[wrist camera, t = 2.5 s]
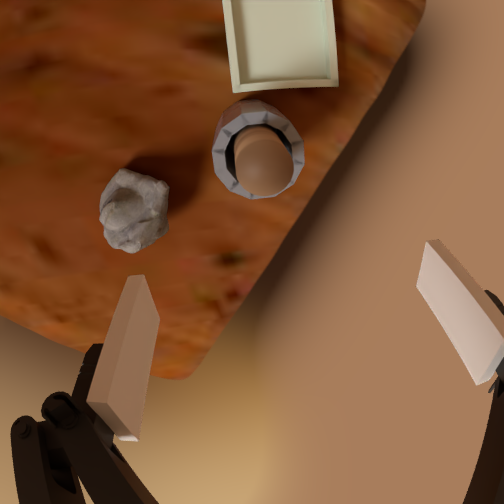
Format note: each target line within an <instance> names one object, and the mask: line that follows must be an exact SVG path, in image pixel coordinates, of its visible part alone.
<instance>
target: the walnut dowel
mask: <svg viewBox="0 0 504 504" xmlns="http://www.w3.org/2000/svg"><path fill="white" fill-rule="evenodd" d="M233 140H234V154H235V167H236V176H237V179H238V181H239V183H240V184H241V186H242V187H243V188H244V189H245V190H246V191H248V192H249V193H252V194H254V195H258V196H270V195H274V194H277V193H279V192H280V191H282V190H283V189H284V188H285V187H286V186H287V185H288V184H289V183H290V181H291V179H292V176H293V172H294V163H293V160H292V157H291V155H290V154H289V152H288V151H287V149H286V148H285V146H284V145H283V143H282V142H281V140H280V139H279V137H278V136H277V134H276V133H275V131H274V130H273V128H272V127H271V126H270V125H268V124H266V123H263V124H253V125H246V126H245V127H243V128H242V129H240V130H239V131H238V132H236V133H235V134H233Z"/></svg>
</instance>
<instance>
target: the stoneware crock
mask: <svg viewBox="0 0 504 504" xmlns="http://www.w3.org/2000/svg"><path fill="white" fill-rule="evenodd" d="M263 123H266V124H268V125H270V126H271V127H272V128H273V130H274V131H275V133H276V134H277V136H278V137H279V139H280V140H281V142H282V143H283V145H284V146H285V148H286V149H287V151H288V152H289V154H290V155H291V157H292V160H293V163H294V172H293V176H292V179H291V181H290V183H289V184H288V185H287V186H286V187H285V188H284V189H283V190H282V191H284V190H285V189H287V188H288V187H290V186H291V185H293V184H294V183H295V181H296V179H297V177H298V175H299V173H300V171H301V169H302V168H303V166H304V164H305V163H304V142H303V140H302V138H301V137H300V135H299V134H298V132H297V131H296V129H295V128H294V126H293V125H292V123H291V122H290V121H289V120H288V119H287V118H286V117H285V116H284V115H283V114H282V113H281V112H280V111H278V110H277V109H276V108H275V107H274V106H272V105H269V104H267V103H265V102H263V101H260V100H258V99H254V100H244V101H238V102H236V103H235V104H234V105H232V106H231V107H229V108H228V109H227V110H225V111H224V112H223V114H222V116H221V118H220V120H219V123H218V125H217V127H216V131H215V136H214V141H213V146H212V155H213V162H214V169H215V174H216V175H217V176H218V177H219V179H220V180H221V181H222V182H223V183H224V185H225V186H226V187H227V188H228V189H229V191H231V192H234V193H236V194H239V195H242V196H244V197H247V198H249V199H258V198H267V197H275V196H276V195H278V194H279V193H281V192H282V191H280V192H279V193H277V194H274V195H270V196H258V195H254V194H252V193H249V192H248V191H246V190H245V189H244V188H243V187H242V186H241V184H240V183H239V181H238V179H237V176H236V167H235V154H234V140H233V134H235V133H236V132H238V131H239V130H240V129H242V128H243V127H245V126H246V125H253V124H263Z"/></svg>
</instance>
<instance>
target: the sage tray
mask: <svg viewBox="0 0 504 504" xmlns="http://www.w3.org/2000/svg"><path fill="white" fill-rule="evenodd" d="M222 2H223V11H224V20H225V28H226V37H227V46H228V54H229V63H230V71H231V80H232V89H233V93H237V92H246V91H256V90H268V89H282V88H301V87H339V82H338V65H337V50H336V37H335V26H334V15H333V6H332V0H222Z"/></svg>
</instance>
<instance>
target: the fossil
mask: <svg viewBox="0 0 504 504" xmlns="http://www.w3.org/2000/svg"><path fill="white" fill-rule="evenodd" d="M169 189H170V186H168V185H167V184H166V183H165V182H164V181H162V180H160V181H159V180H157V179H155V178H153V177H151V176H149V175H142V174H139V173H136V172H134V171H131V170H128V169H125V168H121V169H120V170H119V171H118V172H117V173H116V174H115V175H114V176H113V178H112V179H111V180H110V182H109V183H108V185H107V186H106V188H105V190H104V191H103V193H102V196H101V200H100V218H99V219H100V221H101V223H102V224H103V225H104V236H105V238H106V239H107V241H108V243H109V244H110V245H111V247H113V248H115V249H122V250H124V251H126V252H129V253H135V252H137V251H139V250H141V249H143V248H144V247H147V246H149V245H150V244H153V243H154V242H155V241H156V239H158V238H160V237H162V236H163V235H164V234H166V233H167V231H168V230H169V224H168V220H167V216H166V214H167V209H168V194H169Z"/></svg>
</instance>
